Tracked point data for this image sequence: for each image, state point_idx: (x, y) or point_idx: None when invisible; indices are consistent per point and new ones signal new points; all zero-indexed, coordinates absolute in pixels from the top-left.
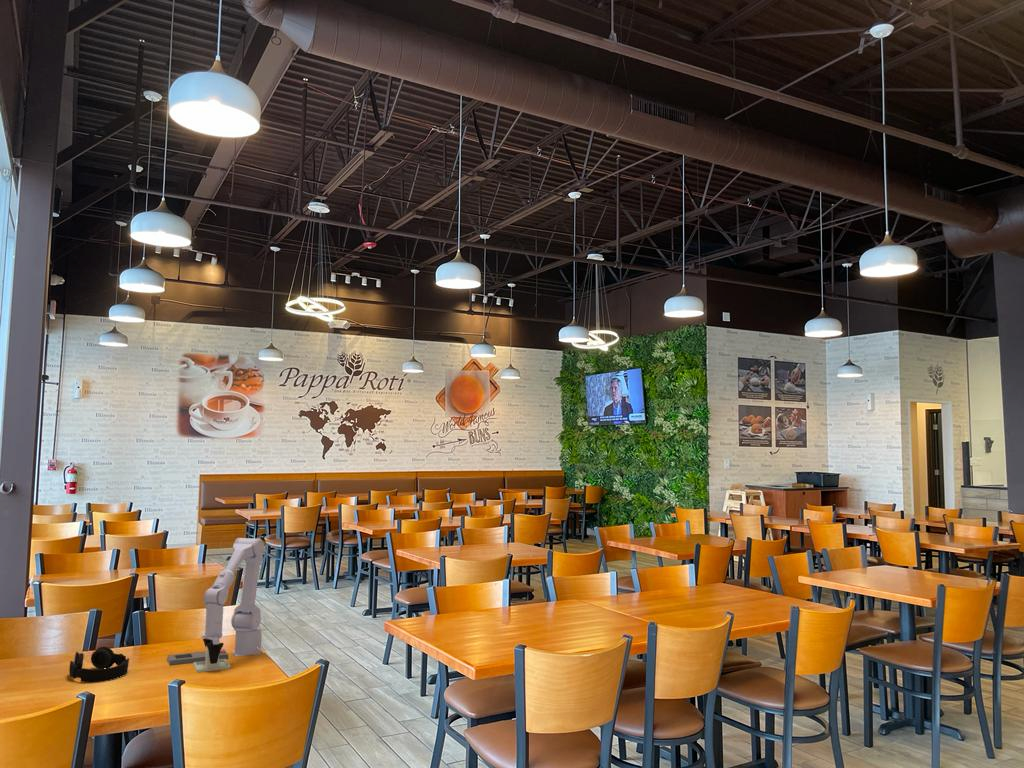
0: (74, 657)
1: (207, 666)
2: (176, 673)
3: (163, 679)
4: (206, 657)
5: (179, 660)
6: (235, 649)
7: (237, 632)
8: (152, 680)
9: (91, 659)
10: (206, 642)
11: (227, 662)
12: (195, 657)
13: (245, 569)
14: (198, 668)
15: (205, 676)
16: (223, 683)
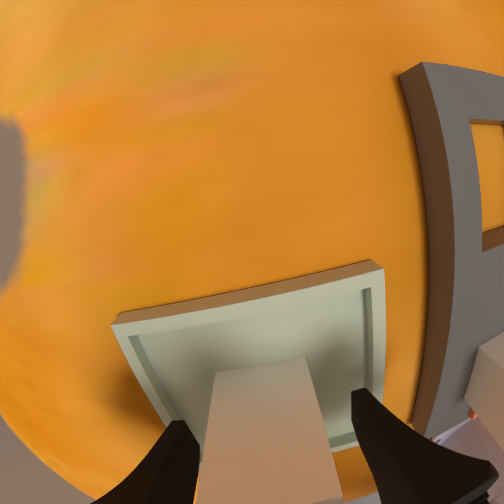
0: None
1: (216, 386)
2: (149, 147)
3: (32, 105)
4: (246, 425)
5: (440, 142)
6: (474, 434)
7: (498, 494)
8: (38, 50)
9: None
10: (410, 500)
11: None
12: (465, 278)
13: None
14: (151, 332)
15: (66, 355)
16: (7, 396)
